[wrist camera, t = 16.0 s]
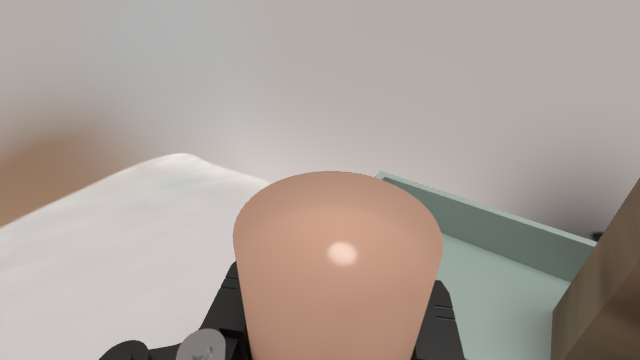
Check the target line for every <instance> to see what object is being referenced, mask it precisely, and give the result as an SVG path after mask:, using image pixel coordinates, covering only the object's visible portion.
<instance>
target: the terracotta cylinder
mask: <svg viewBox="0 0 640 360" xmlns="http://www.w3.org/2000/svg"><path fill="white" fill-rule="evenodd" d="M233 244H234V251H235V257H236V263H237V269H238V275H239V282H240V288H241V294H242V300H243V306H244V312H245V319H246V325H247V331H248V337H249V343H250V350H251V356H252V360H411V357H412V353H413V350H414V347H415V344H416V340H417V337H418V334H419V331H420V328H421V324H422V321H423V318H424V315H425V311H426V308H427V305H428V302H429V298H430V295H431V292H432V289H433V285H434V282H435V279H436V276H437V272H438V269H439V266H440V263H441V259H442V255H443V237H442V234H441V231H440V228H439V226H438V224H437V222H436V220H435V218H434V217H433V215H432V214H431V212H430V211H429V210H428V209H427V208H426V207H425V206H424V205H423V204H422V203H421V202H420V201H419V200H418V199H417V198H415V197H414V196H412V195H411V194H410V193H408V192H406V191H405V190H403V189H401V188H399V187H397V186H395V185H393V184H391V183H389V182H386V181H383V180H381V179H378V178H374V177H371V176H367V175H362V174H357V173H350V172H339V171H324V172H312V173H305V174H300V175H295V176H292V177H288V178H285V179H282V180H280V181H277V182H275V183H273V184H271V185H269V186H267V187H266V188H264V189H262V190H261V191H259V192H258V193H257V194H255V195H254V196H253V197H252V198H251V199H250V200H249V201H248V202H247V203H246V204H245V205H244V207H243V208H242V209H241V211H240V213H239V215H238V217H237V219H236V222H235V225H234V231H233Z"/></svg>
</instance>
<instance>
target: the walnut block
mask: <svg viewBox="0 0 640 360" xmlns="http://www.w3.org/2000/svg"><path fill="white" fill-rule="evenodd" d="M550 360H640V178H639V180H638V181H637V183H636V184H635V186H634V187H633V189H632V191H631V192H630V194H629V195H628V197H627V198H626V200H625V201H624V203H623V204H622V206H621V207H620V209H619V210H618V212H617V213H616V215H615V216H614V218H613V219H612V221H611V223H610V224H609V226H608V227H607V229H606V230H605V232H604V233H603V235H602V236H601V238H600V239H599V241H598V242H597V244H596V246H595V247H594V249H593V250H592V252H591V253H590V255H589V256H588V258H587V259H586V261H585V262H584V264H583V265H582V267H581V269H580V270H579V272H578V273H577V275H576V276H575V278H574V279H573V281H572V282H571V284H570V285H569V287H568V288H567V290H566V291H565V293H564V295H563V296H562V298H561V299H560V301H559V302H558V304H557V305H556V307H555V308H554V310H553V314H552V337H551V359H550Z"/></svg>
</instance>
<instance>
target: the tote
mask: <svg viewBox="0 0 640 360" xmlns="http://www.w3.org/2000/svg"><path fill="white" fill-rule="evenodd" d="M374 178H378V179H381V180H383V181H386V182H389V183H391V184H393V185H395V186H397V187H399V188H401V189H403V190H405V191H406V192H408V193H410V194H411V195H412V196H414V197H415V198H417V199H418V200H419V201H420V202H421V203H422V204H423V205H424V206H425V207H426V208H427V209H428V210H429V211H430V212H431V214H432V215H433V217H434V218H435V220H436V222H437V224H438V226H439V228H440V231H441V234H442V237H443V255H442V259H441V263H440V266H439V269H438V272H437V276H436V279H435V280H441V282H442V283H443V284H444V286H445V287H446V289H447V290H448V292H449V293H450V297H451V301H452V306H453V310H454V314H455V321H456V323H457V327H458V332H459V336H460V340H461V344H462V349H463V353H464V357H465V360H550V359H551V337H552V314H553V310H554V308H555V307H556V305H557V304H558V302H559V301H560V299H561V298H562V296H563V295H564V293H565V291H566V290H567V288H568V287H569V285H570V284H571V282H572V281H573V279H574V278H575V276H576V275H577V273H578V272H579V270H580V269H581V267H582V265H583V264H584V262H585V261H586V259H587V258H588V256H589V255H590V253H591V252H592V250H593V249H594V247H595V246H596V244H597V242H595V241H592V240H589V239H586V238H582V237H580V236H577V235H573V234H570V233H567V232H564V231H561V230H558V229H555V228H552V227H549V226H546V225H543V224H540V223H537V222H534V221H531V220H528V219H525V218H522V217H518V216H516V215H512V214H510V213H507V212H503V211H500V210H497V209H494V208H491V207H488V206H485V205H482V204H479V203H476V202H473V201H470V200H467V199H464V198H461V197H458V196H455V195H452V194H449V193H446V192H442V191H440V190H436V189H433V188H430V187H427V186H424V185H421V184H418V183H415V182H412V181H409V180H406V179H403V178H400V177H397V176H394V175H391V174H387V173H385V172H382V171H380V172H379V173H378V174H377V175H376V176H375V177H374Z"/></svg>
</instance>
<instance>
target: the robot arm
mask: <svg viewBox="0 0 640 360" xmlns="http://www.w3.org/2000/svg"><path fill="white" fill-rule="evenodd" d="M99 360H252V356H251V350H250V343H249V337H248V331H247V325H246V319H245V312H244V306H243V300H242V294H241V288H240V282H239V275H238V269H237V263H236V261H235V262H234V263H233V264H232V265H231V267H230V269H229V271H228V273H227V275H226V278H225V279H224V281H223V283H222V285H221V288H220V289H219V291H218V293H217V295H216V297H215V299H214V301H213V303H212V305H211V307H210V309H209V311H208V313H207V315H206V317H205V319H204V321H203V323H202V325H201V327H200V328H199V330H198V331H196V332H194V333H192V334H190V335H189V336H188V337H187V338H186V339H185V340H184V341H183V342H182V343H180V344H177V345H173V346H168V347H162V348H156V349H151V350H148V348H147V346H146V345H145V344H144V343H142V342H140V341H136V340H130V341H125V342H122V343H120V344H117V345H116V346H114V347H112V348H111V349H110V350H108V351H107V352H106V353H105V354H104V355H103V356H102V357H101V358H100V359H99ZM411 360H465V357H464V353H463V349H462V344H461V340H460V336H459V332H458V327H457V323H456V321H455V314H454V310H453V306H452V301H451V297H450V293H449V292H448V290H447V289H446V287H445V286H444V284H443V283H442V282H441V280H435V282H434V285H433V289H432V292H431V295H430V298H429V302H428V305H427V308H426V311H425V315H424V318H423V321H422V324H421V328H420V331H419V334H418V337H417V340H416V344H415V347H414V350H413V353H412V357H411Z"/></svg>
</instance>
